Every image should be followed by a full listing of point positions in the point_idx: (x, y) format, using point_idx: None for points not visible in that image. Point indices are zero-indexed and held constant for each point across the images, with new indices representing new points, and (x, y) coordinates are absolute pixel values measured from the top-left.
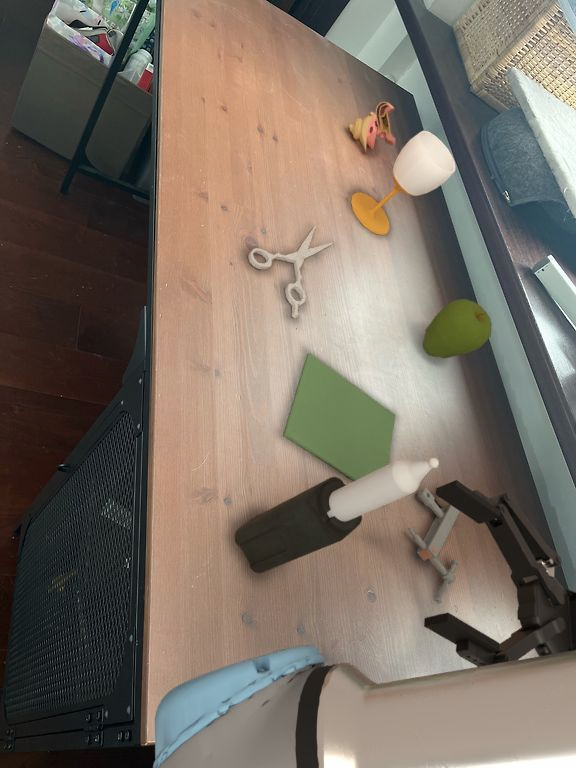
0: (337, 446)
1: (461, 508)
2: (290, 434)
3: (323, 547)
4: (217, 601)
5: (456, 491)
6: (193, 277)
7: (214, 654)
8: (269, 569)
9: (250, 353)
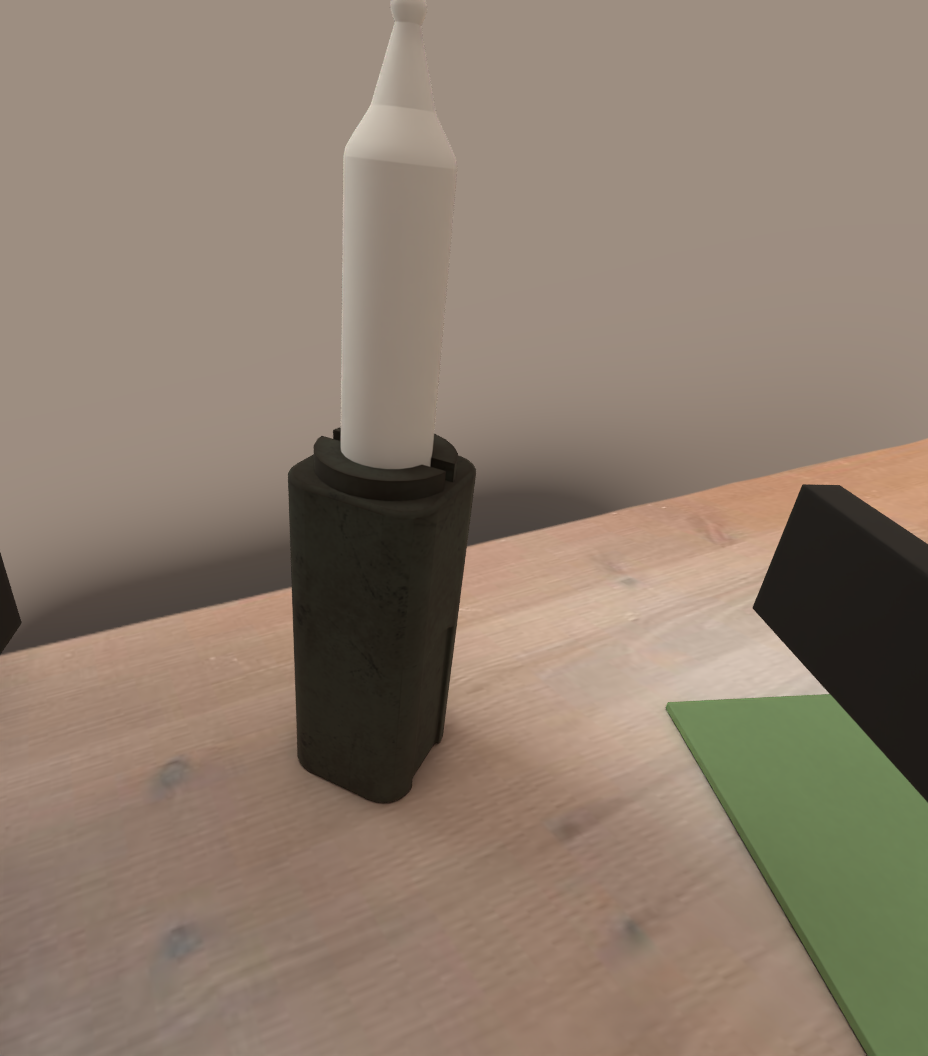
0: (823, 843)
1: (885, 719)
2: (681, 712)
3: (294, 544)
4: (195, 704)
5: (815, 533)
6: (722, 522)
7: (70, 733)
8: (302, 740)
9: (734, 609)
